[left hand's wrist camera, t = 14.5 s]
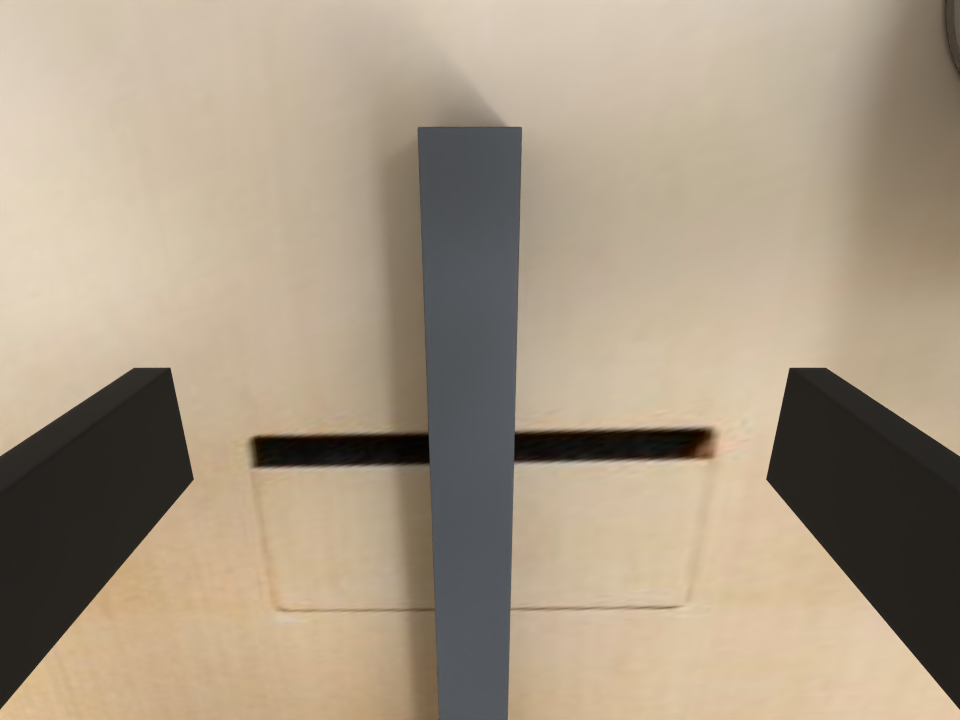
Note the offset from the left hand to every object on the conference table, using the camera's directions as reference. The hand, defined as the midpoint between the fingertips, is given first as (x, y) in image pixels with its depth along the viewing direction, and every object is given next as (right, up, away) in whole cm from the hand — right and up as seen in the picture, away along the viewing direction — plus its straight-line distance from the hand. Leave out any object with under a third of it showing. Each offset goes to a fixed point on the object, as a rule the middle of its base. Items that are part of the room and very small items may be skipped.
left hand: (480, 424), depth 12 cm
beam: (-1, -10, +29) cm, 31 cm away
